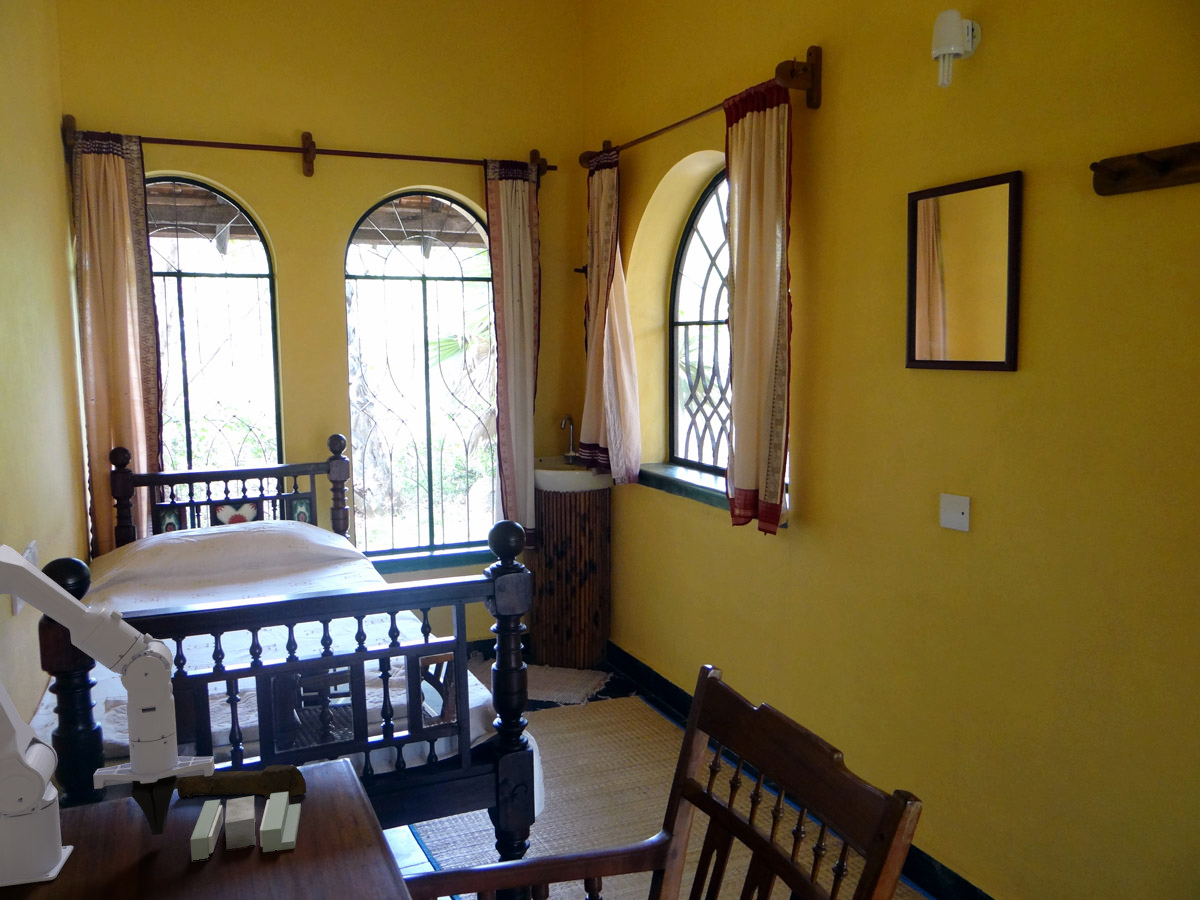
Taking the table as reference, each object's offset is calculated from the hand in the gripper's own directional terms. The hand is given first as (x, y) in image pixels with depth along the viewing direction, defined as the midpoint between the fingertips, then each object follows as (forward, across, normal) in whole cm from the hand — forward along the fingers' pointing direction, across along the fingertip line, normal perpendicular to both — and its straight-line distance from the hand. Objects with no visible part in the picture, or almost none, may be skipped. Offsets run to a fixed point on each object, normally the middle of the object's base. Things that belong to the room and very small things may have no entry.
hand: (159, 831), depth 126 cm
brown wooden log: (+2, +9, +14) cm, 16 cm away
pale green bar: (+2, +15, 0) cm, 15 cm away
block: (+2, +10, 0) cm, 11 cm away
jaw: (+2, +6, 0) cm, 6 cm away
